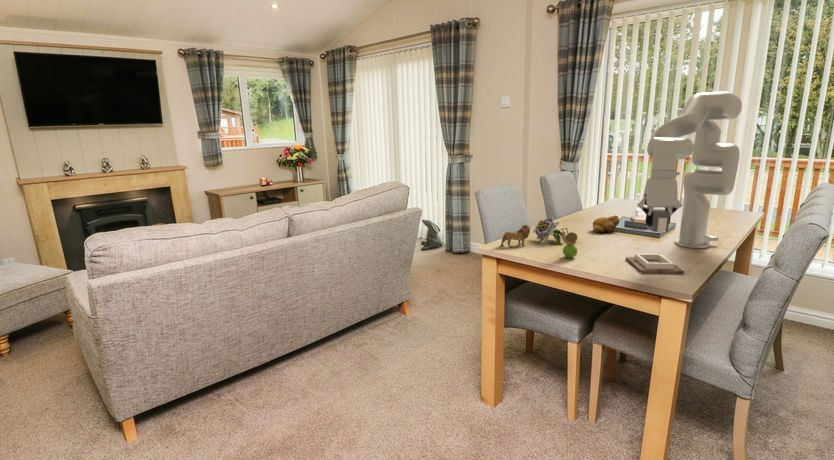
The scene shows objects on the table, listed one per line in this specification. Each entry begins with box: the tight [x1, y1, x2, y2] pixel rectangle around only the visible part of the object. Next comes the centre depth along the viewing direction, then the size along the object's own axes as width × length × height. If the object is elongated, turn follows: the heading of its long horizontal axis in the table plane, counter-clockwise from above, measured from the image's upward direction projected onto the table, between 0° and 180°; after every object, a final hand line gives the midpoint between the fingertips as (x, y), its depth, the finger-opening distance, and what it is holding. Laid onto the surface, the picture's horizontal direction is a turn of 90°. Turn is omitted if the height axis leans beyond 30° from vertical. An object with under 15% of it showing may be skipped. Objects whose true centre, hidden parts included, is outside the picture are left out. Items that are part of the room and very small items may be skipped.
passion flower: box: [532, 216, 569, 245], centre depth 197 cm, size 13×12×14 cm
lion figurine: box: [499, 224, 531, 248], centre depth 191 cm, size 15×5×9 cm, turn 110°
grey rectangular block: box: [645, 208, 671, 233], centre depth 156 cm, size 5×7×7 cm
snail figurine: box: [561, 228, 578, 259], centre depth 173 cm, size 5×6×12 cm
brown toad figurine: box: [592, 215, 620, 234], centre depth 212 cm, size 13×10×8 cm
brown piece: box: [625, 253, 685, 275], centre depth 161 cm, size 14×16×3 cm
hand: (657, 225), depth 157 cm, fingers closed on grey rectangular block, 5 cm apart
